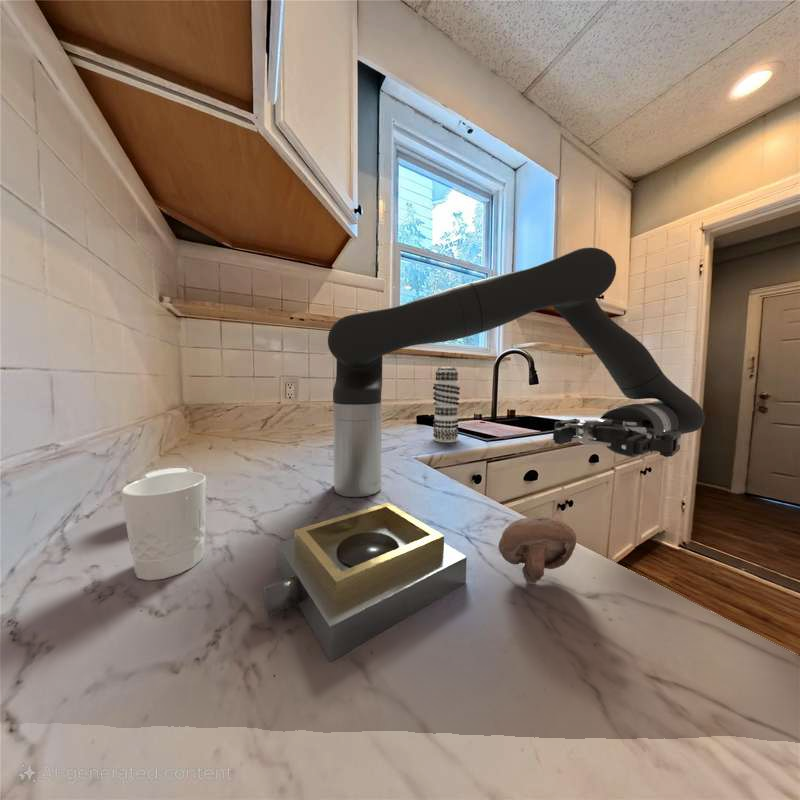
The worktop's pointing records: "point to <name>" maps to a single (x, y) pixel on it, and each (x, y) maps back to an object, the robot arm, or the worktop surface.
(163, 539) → the white cup
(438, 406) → the decorative candle
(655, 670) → the worktop surface
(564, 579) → the worktop surface
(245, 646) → the worktop surface
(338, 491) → the robot arm
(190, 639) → the worktop surface
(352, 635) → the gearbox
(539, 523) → the mushroom
